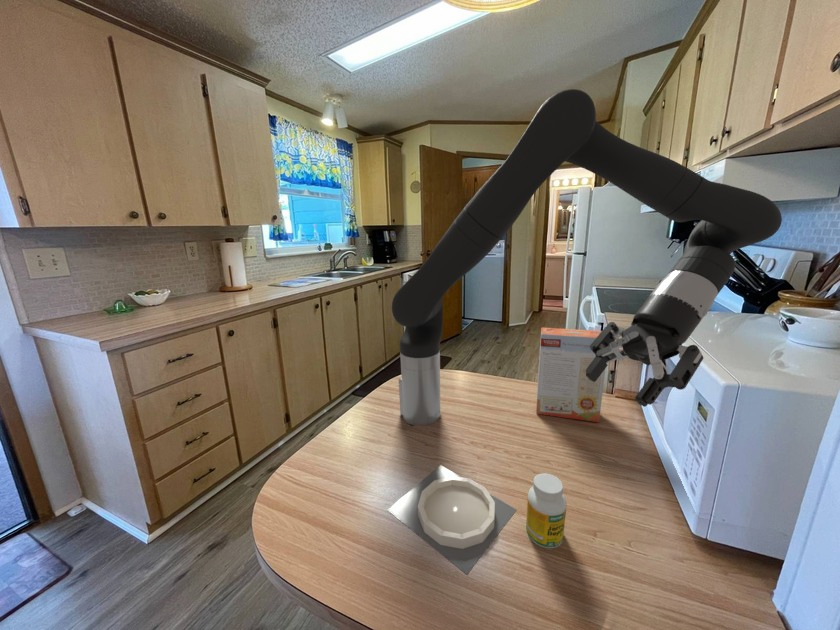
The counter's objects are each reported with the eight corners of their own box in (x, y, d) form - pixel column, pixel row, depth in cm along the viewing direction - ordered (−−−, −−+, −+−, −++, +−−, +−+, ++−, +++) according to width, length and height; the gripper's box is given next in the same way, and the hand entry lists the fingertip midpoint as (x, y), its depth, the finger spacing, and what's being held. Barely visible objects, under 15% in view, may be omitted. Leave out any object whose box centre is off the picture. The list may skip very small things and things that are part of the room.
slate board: (387, 512, 56) (386, 509, 56) (440, 467, 66) (440, 465, 66) (466, 577, 46) (466, 574, 45) (516, 512, 55) (516, 509, 55)
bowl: (404, 516, 55) (403, 507, 54) (449, 475, 63) (449, 467, 63) (465, 564, 47) (465, 554, 46) (508, 510, 55) (508, 501, 55)
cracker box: (595, 410, 84) (605, 330, 78) (599, 423, 78) (610, 338, 73) (535, 402, 88) (541, 325, 83) (535, 414, 83) (541, 333, 77)
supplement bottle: (540, 514, 55) (544, 464, 52) (570, 538, 51) (576, 485, 48) (517, 531, 52) (521, 479, 50) (547, 558, 48) (552, 503, 45)
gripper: (622, 285, 57) (565, 360, 56) (721, 302, 45) (649, 399, 44) (639, 311, 61) (585, 383, 60) (736, 334, 48) (670, 425, 47)
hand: (612, 390), depth 52 cm, fingers open, 8 cm apart
